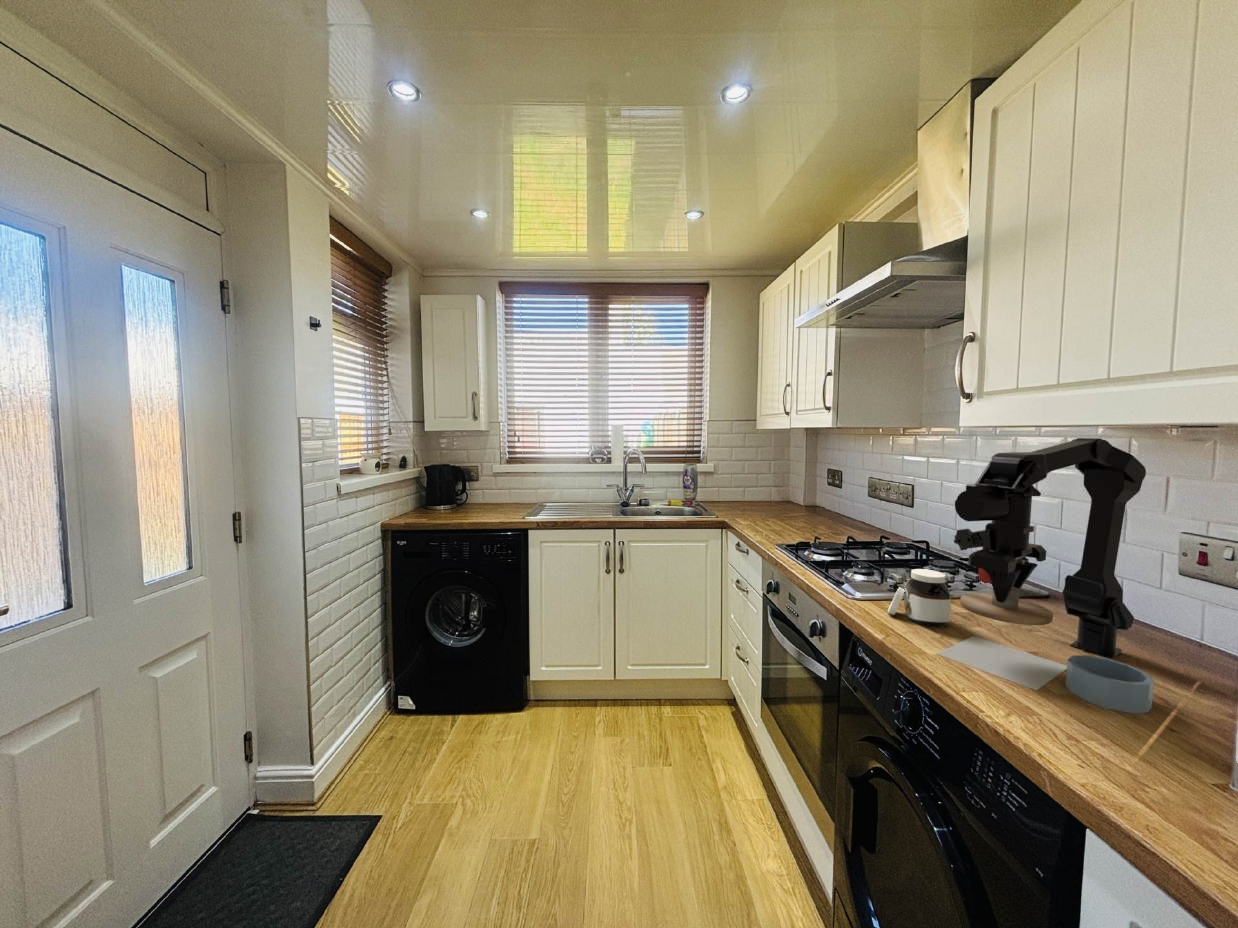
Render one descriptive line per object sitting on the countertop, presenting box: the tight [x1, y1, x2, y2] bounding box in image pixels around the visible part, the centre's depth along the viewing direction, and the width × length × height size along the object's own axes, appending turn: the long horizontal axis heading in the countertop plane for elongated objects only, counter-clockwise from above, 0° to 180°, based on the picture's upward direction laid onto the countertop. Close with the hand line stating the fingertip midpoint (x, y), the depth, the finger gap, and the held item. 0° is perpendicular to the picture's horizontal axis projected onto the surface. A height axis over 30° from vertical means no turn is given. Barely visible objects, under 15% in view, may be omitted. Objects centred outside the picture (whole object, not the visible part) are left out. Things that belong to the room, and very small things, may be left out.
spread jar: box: [887, 568, 952, 628], centre depth 117 cm, size 12×11×12 cm
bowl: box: [1065, 654, 1155, 714], centre depth 83 cm, size 10×10×5 cm
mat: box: [936, 635, 1067, 691], centre depth 96 cm, size 16×16×1 cm
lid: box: [959, 587, 1054, 626], centre depth 95 cm, size 14×14×4 cm
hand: (1005, 599), depth 95 cm, fingers closed on lid, 4 cm apart
